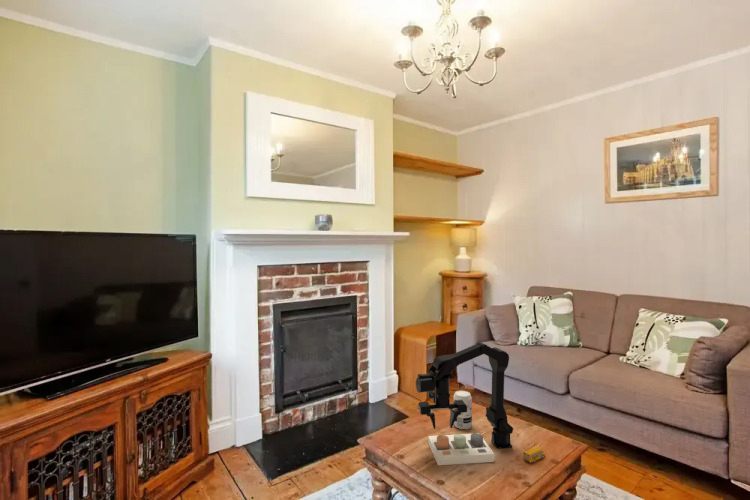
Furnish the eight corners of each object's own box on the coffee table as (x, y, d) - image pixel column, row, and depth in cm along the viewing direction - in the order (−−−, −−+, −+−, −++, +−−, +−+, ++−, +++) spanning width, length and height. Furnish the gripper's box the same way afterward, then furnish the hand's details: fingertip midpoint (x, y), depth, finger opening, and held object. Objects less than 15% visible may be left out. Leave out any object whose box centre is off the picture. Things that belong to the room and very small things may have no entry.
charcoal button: (480, 440, 157) (480, 432, 157) (484, 446, 152) (484, 438, 152) (469, 440, 157) (469, 433, 157) (473, 447, 152) (473, 439, 152)
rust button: (447, 442, 156) (446, 434, 156) (450, 448, 151) (450, 441, 151) (435, 442, 155) (435, 435, 155) (438, 449, 151) (438, 441, 151)
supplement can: (452, 421, 180) (452, 389, 180) (471, 422, 179) (470, 390, 179) (454, 429, 172) (453, 396, 172) (473, 430, 171) (472, 397, 171)
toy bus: (545, 457, 150) (545, 447, 150) (529, 464, 145) (529, 454, 145) (538, 453, 153) (538, 443, 153) (522, 460, 148) (522, 451, 148)
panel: (479, 440, 163) (479, 432, 163) (494, 461, 147) (494, 453, 147) (428, 443, 161) (428, 435, 161) (438, 465, 145) (438, 457, 145)
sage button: (463, 441, 156) (463, 433, 156) (467, 447, 152) (467, 440, 152) (452, 441, 156) (452, 434, 156) (455, 448, 151) (455, 440, 151)
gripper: (458, 381, 162) (459, 417, 162) (415, 383, 160) (415, 420, 160) (467, 391, 151) (467, 430, 151) (420, 393, 149) (421, 433, 149)
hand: (442, 428), depth 153 cm, fingers open, 6 cm apart
